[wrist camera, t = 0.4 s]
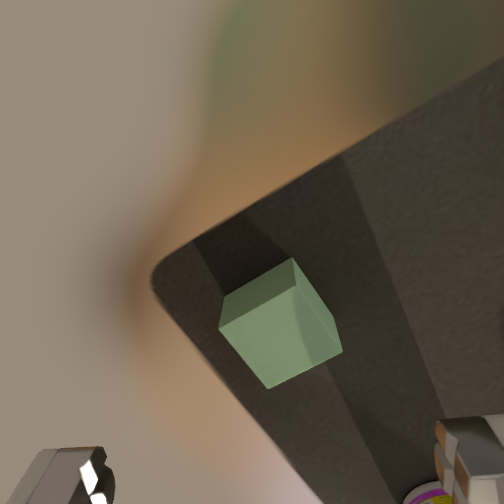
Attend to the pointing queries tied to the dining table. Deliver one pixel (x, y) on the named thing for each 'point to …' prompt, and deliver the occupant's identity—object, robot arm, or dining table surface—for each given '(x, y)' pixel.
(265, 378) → the green block
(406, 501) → the supplement bottle
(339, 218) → the dining table surface
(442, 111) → the dining table surface
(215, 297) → the dining table surface
